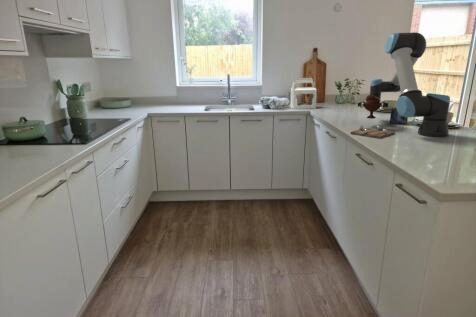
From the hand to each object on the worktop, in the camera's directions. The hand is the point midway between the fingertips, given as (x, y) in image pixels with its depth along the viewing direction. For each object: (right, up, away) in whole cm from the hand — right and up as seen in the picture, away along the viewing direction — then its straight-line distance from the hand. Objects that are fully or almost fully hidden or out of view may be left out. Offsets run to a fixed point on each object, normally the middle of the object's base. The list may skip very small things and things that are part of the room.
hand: (371, 106), depth 203 cm
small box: (+25, -9, +17) cm, 31 cm away
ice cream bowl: (+2, -7, +6) cm, 9 cm away
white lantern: (-23, +15, +103) cm, 107 cm away
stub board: (-5, -18, -12) cm, 23 cm away
